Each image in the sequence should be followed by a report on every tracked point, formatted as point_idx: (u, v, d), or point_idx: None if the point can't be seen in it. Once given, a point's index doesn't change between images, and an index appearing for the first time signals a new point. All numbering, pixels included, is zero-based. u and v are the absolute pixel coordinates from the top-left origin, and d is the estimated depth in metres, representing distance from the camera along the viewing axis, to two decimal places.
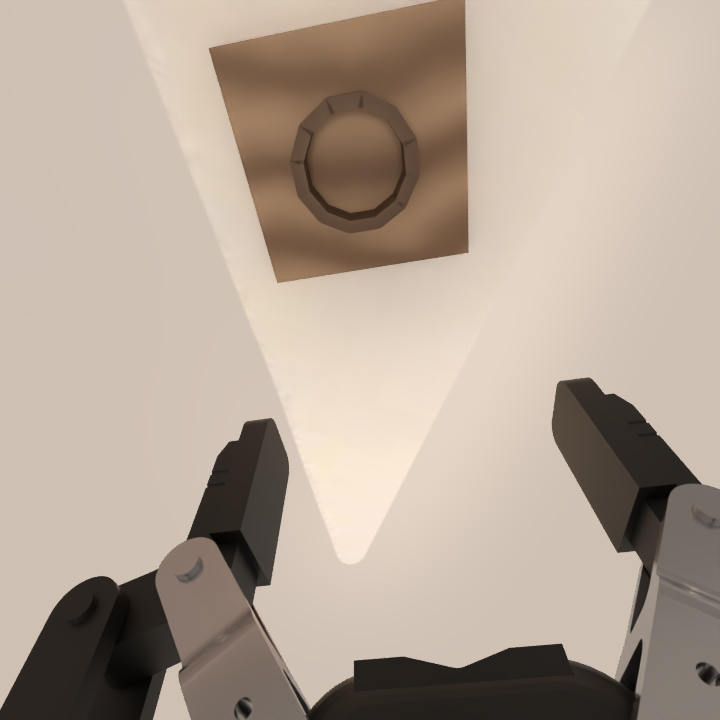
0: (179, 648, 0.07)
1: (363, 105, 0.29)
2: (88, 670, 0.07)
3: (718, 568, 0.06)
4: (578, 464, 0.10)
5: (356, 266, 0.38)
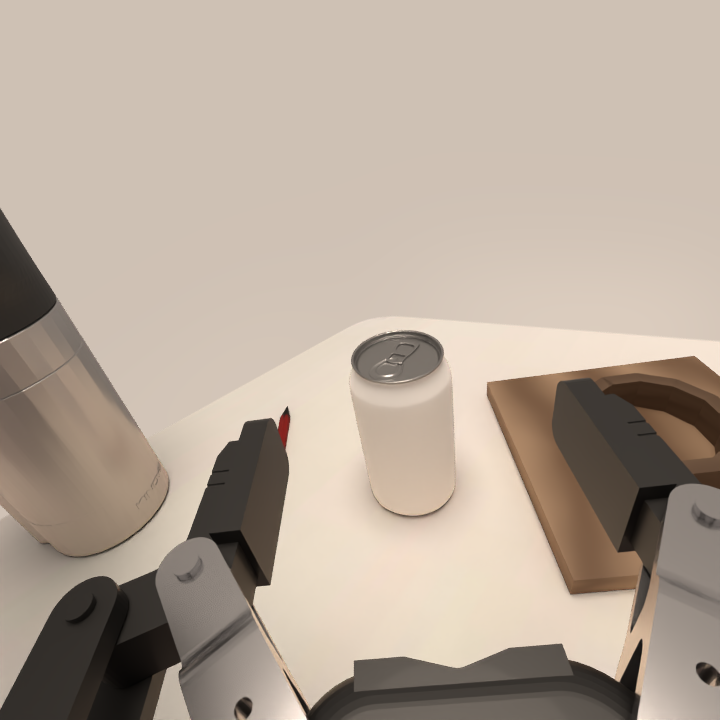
0: (179, 648, 0.07)
1: None
2: (88, 670, 0.07)
3: (718, 568, 0.06)
4: (578, 464, 0.10)
5: None
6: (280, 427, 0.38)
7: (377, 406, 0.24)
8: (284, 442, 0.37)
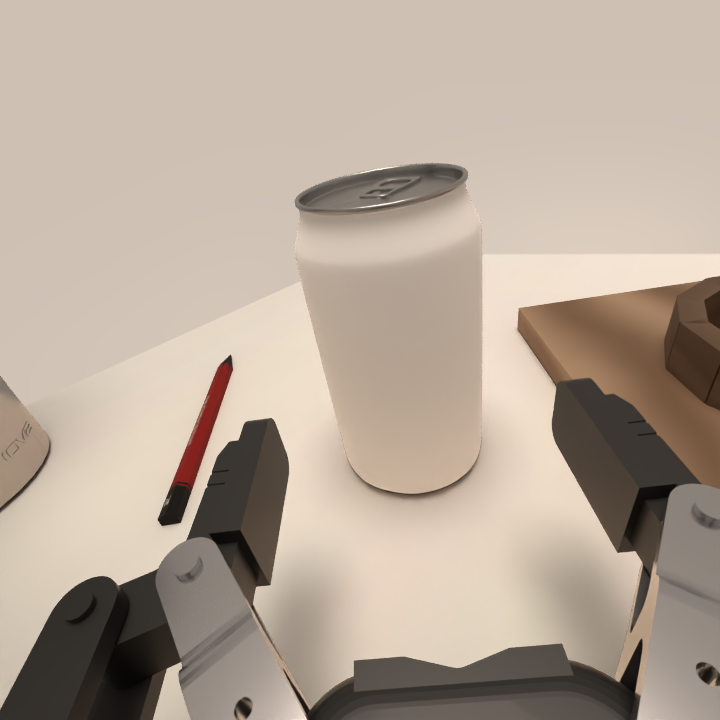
0: (179, 647, 0.07)
1: (701, 319, 0.18)
2: (88, 670, 0.07)
3: (718, 568, 0.06)
4: (578, 464, 0.10)
5: None
6: (215, 378, 0.27)
7: (339, 266, 0.12)
8: (217, 397, 0.25)
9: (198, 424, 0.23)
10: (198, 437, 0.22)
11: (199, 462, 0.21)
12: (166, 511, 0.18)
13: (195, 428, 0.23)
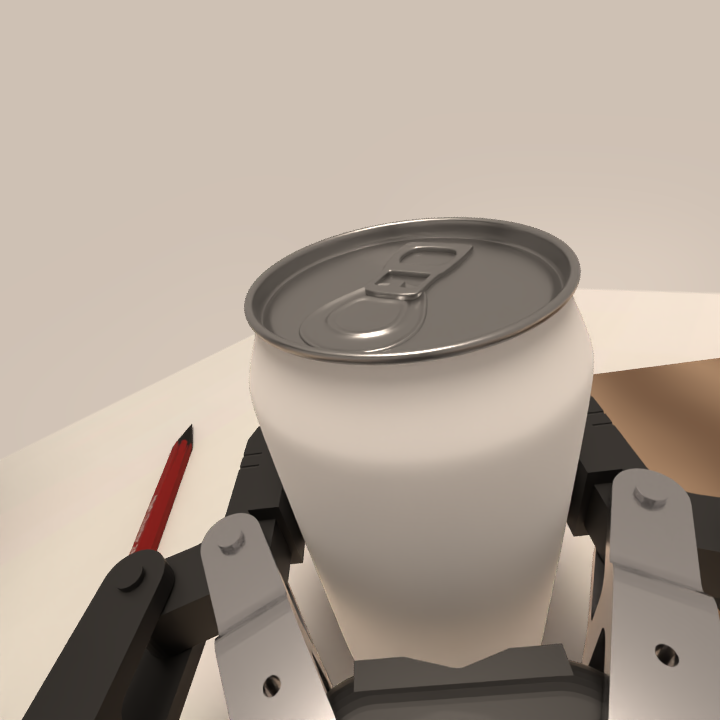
0: (217, 615, 0.07)
1: None
2: (133, 640, 0.07)
3: (663, 548, 0.07)
4: None
5: None
6: (167, 465, 0.21)
7: (325, 454, 0.06)
8: (168, 497, 0.19)
9: (137, 547, 0.17)
10: None
11: None
12: None
13: None
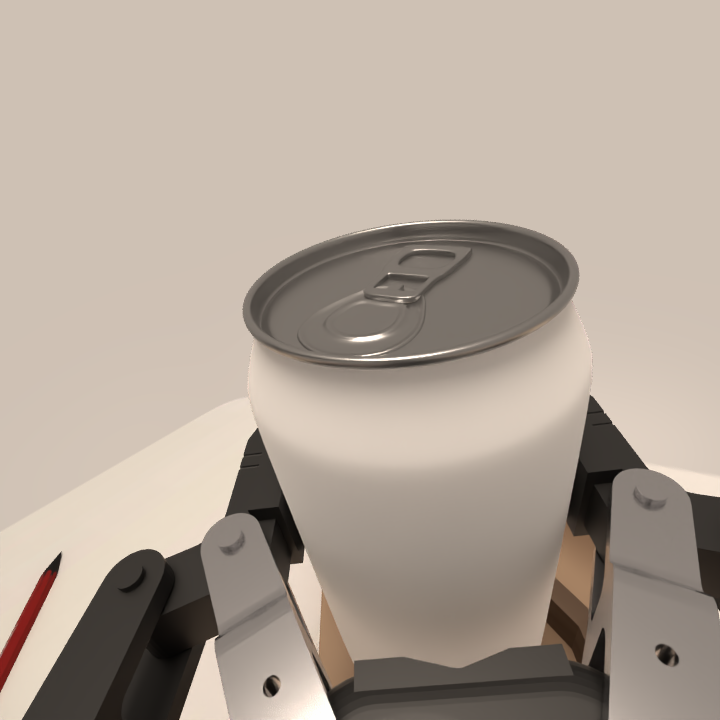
0: (217, 616, 0.07)
1: None
2: (133, 640, 0.07)
3: (662, 547, 0.07)
4: None
5: None
6: (31, 596, 0.28)
7: (323, 459, 0.06)
8: (25, 625, 0.27)
9: None
10: None
11: None
12: None
13: None
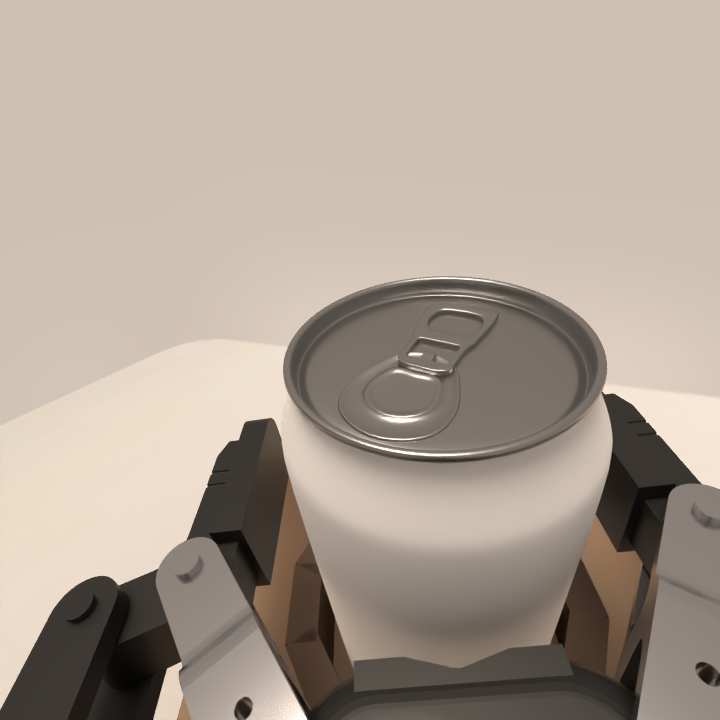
0: (180, 647, 0.07)
1: None
2: (88, 670, 0.07)
3: (718, 568, 0.06)
4: None
5: None
6: None
7: (363, 532, 0.06)
8: None
9: None
10: None
11: None
12: None
13: None
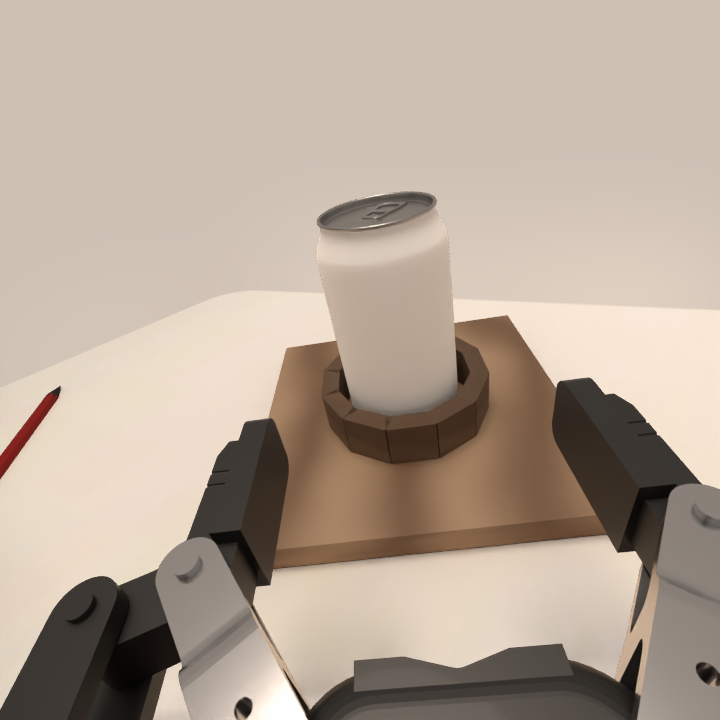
0: (179, 647, 0.07)
1: (337, 368, 0.26)
2: (88, 670, 0.07)
3: (718, 568, 0.06)
4: (578, 464, 0.10)
5: None
6: (38, 406, 0.35)
7: (347, 266, 0.18)
8: (35, 420, 0.33)
9: (11, 441, 0.31)
10: (7, 451, 0.30)
11: (5, 468, 0.29)
12: None
13: None
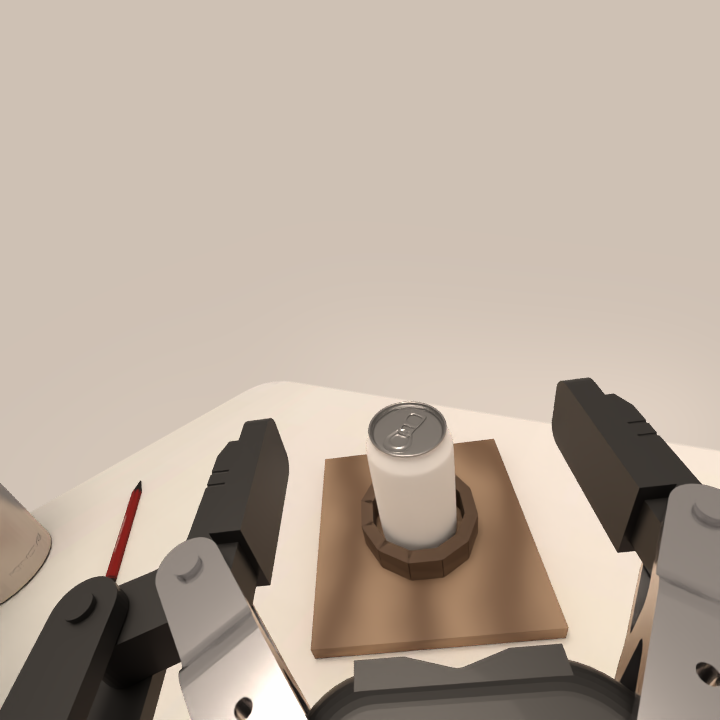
0: (180, 647, 0.07)
1: (370, 499, 0.36)
2: (88, 670, 0.07)
3: (718, 568, 0.06)
4: (578, 464, 0.10)
5: (524, 527, 0.34)
6: (130, 502, 0.45)
7: (389, 473, 0.28)
8: (131, 516, 0.44)
9: (120, 537, 0.41)
10: (120, 546, 0.40)
11: (120, 561, 0.40)
12: None
13: (118, 540, 0.41)
